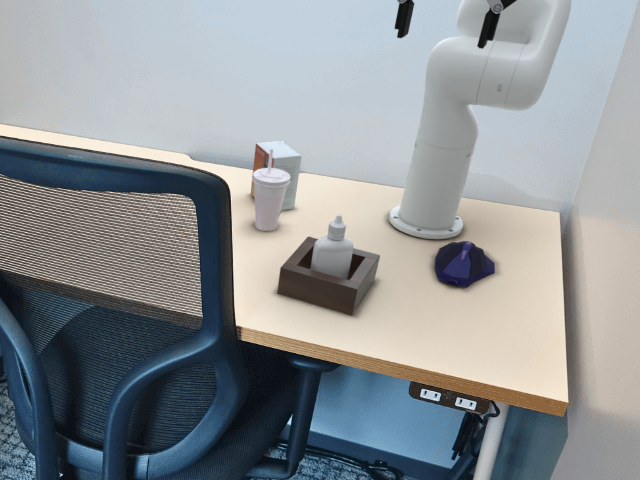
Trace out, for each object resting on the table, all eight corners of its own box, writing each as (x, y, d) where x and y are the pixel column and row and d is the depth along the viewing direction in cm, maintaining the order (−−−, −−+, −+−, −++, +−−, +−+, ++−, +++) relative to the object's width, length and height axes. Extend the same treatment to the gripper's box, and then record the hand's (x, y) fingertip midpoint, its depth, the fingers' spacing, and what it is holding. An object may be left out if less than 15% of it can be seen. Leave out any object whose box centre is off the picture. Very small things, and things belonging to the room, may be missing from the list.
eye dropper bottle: (342, 297, 103) (356, 225, 97) (305, 289, 105) (316, 218, 98) (347, 283, 107) (361, 212, 100) (311, 276, 109) (322, 206, 102)
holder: (304, 260, 113) (307, 236, 110) (374, 280, 108) (380, 254, 105) (276, 293, 104) (280, 267, 102) (352, 315, 100) (357, 289, 97)
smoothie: (260, 214, 126) (268, 140, 118) (290, 225, 123) (301, 149, 115) (240, 227, 122) (247, 150, 114) (271, 238, 119) (281, 160, 111)
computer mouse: (501, 256, 115) (508, 235, 112) (485, 297, 104) (493, 274, 102) (443, 242, 118) (449, 221, 116) (422, 280, 108) (428, 258, 106)
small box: (249, 195, 133) (254, 142, 127) (276, 191, 135) (282, 139, 129) (267, 212, 127) (273, 158, 121) (294, 209, 129) (302, 154, 123)
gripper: (567, -119, 76) (518, 44, 86) (408, -124, 83) (380, 27, 93) (562, -118, 71) (511, 56, 80) (392, -123, 78) (364, 37, 87)
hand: (441, 41), depth 87 cm, fingers open, 9 cm apart
